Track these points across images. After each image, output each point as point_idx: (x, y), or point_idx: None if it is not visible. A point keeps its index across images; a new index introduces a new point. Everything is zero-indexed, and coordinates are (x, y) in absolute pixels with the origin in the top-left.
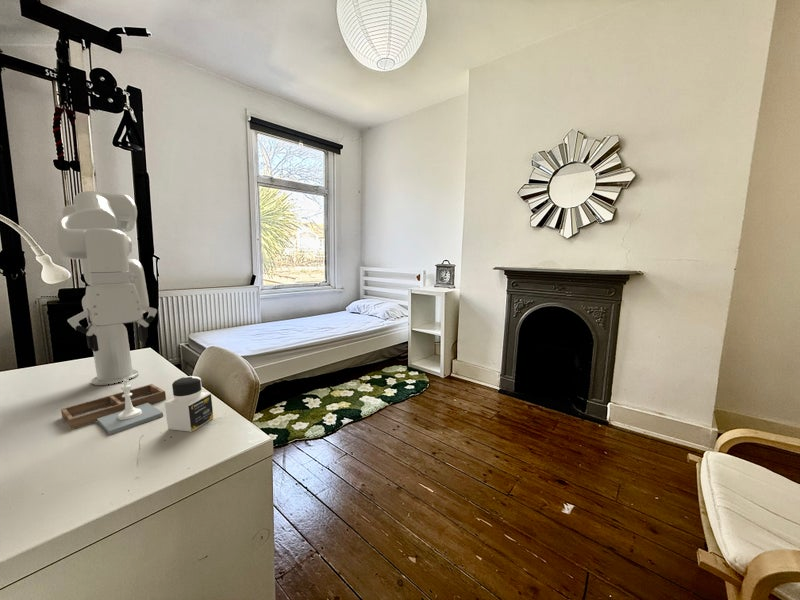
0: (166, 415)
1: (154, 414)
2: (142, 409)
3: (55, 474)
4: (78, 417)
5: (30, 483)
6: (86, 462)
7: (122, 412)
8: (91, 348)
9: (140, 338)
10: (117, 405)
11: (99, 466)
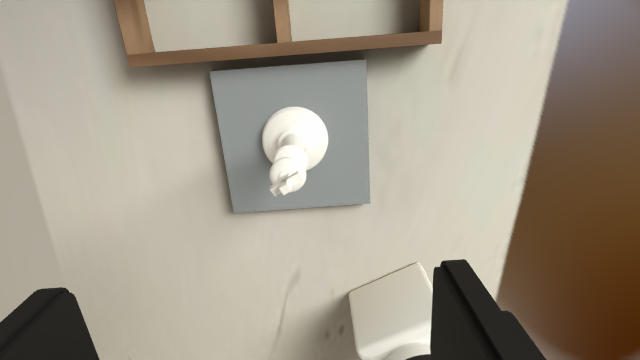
0: (352, 322)
1: (349, 198)
2: (335, 118)
3: (140, 311)
4: (153, 65)
5: (104, 311)
6: (188, 308)
7: (275, 132)
8: (36, 295)
9: (442, 317)
10: (270, 55)
11: (208, 341)
